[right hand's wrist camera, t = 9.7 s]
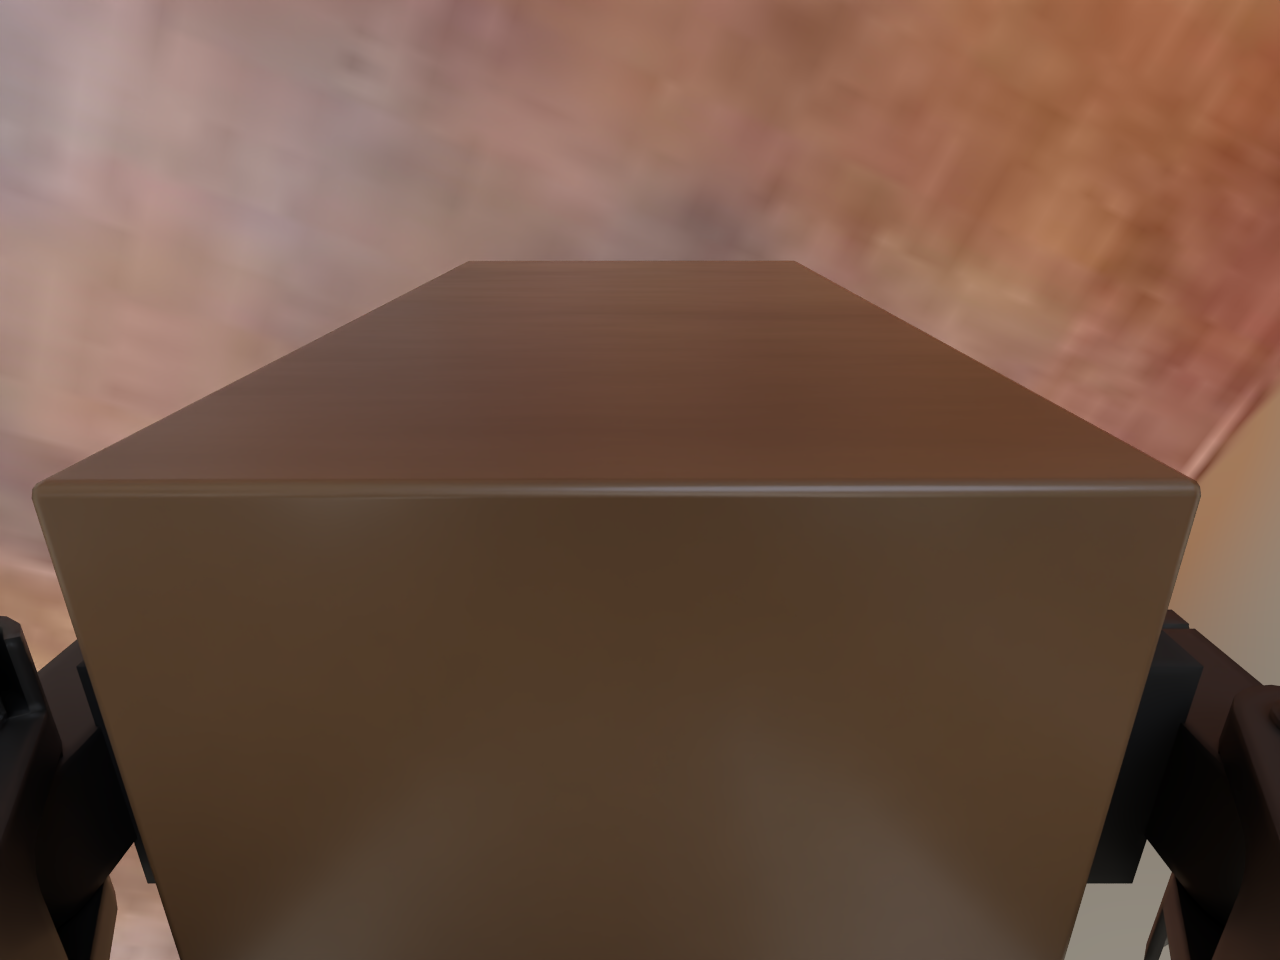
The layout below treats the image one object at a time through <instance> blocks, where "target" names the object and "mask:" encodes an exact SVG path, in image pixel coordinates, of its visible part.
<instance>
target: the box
mask: <svg viewBox="0 0 1280 960" xmlns="http://www.w3.org/2000/svg"><path fill="white" fill-rule="evenodd" d="M1200 497H1201V492H1200V486H1199V485H1198V483H1197V482H1196V481H1195V480H1193V479H1191V478H1189V477H1187V476H1186V475H1184V474H1182V473H1180V472H1178V471H1177V470H1175V469H1173V468H1171V467H1169V466H1167V465H1166V464H1164V463H1162V462H1160V461H1158V460H1156V459H1155V458H1153V457H1151V456H1149V455H1147V454H1146V453H1144V452H1142V451H1140V450H1138V449H1136V448H1135V447H1133V446H1131V445H1129V444H1127V443H1125V442H1124V441H1122V440H1120V439H1118V438H1116V437H1115V436H1113V435H1111V434H1109V433H1107V432H1105V431H1104V430H1102V429H1100V428H1098V427H1096V426H1095V425H1093V424H1091V423H1089V422H1087V421H1085V420H1084V419H1082V418H1080V417H1078V416H1076V415H1074V414H1073V413H1071V412H1069V411H1067V410H1065V409H1064V408H1062V407H1060V406H1058V405H1056V404H1054V403H1053V402H1051V401H1049V400H1047V399H1045V398H1043V397H1042V396H1040V395H1038V394H1036V393H1034V392H1033V391H1031V390H1029V389H1027V388H1025V387H1023V386H1022V385H1020V384H1018V383H1016V382H1014V381H1013V380H1011V379H1009V378H1007V377H1005V376H1003V375H1002V374H1000V373H998V372H996V371H994V370H992V369H991V368H989V367H987V366H985V365H983V364H982V363H980V362H978V361H976V360H974V359H972V358H971V357H969V356H967V355H965V354H963V353H962V352H960V351H958V350H956V349H954V348H952V347H951V346H949V345H947V344H945V343H943V342H941V341H940V340H938V339H936V338H934V337H932V336H931V335H929V334H927V333H925V332H923V331H921V330H920V329H918V328H916V327H914V326H912V325H910V324H909V323H907V322H905V321H903V320H901V319H900V318H898V317H896V316H894V315H892V314H890V313H889V312H887V311H885V310H883V309H881V308H880V307H878V306H876V305H874V304H872V303H870V302H869V301H867V300H865V299H863V298H861V297H859V296H858V295H856V294H854V293H852V292H850V291H849V290H847V289H845V288H843V287H841V286H839V285H838V284H836V283H834V282H832V281H830V280H828V279H827V278H825V277H823V276H821V275H819V274H818V273H816V272H814V271H812V270H810V269H808V268H807V267H805V266H803V265H801V264H799V263H798V262H795V261H468V262H466V263H464V264H462V265H460V266H458V267H456V268H455V269H453V270H451V271H449V272H447V273H445V274H443V275H441V276H439V277H437V278H435V279H433V280H431V281H429V282H427V283H425V284H423V285H422V286H420V287H418V288H416V289H414V290H412V291H410V292H408V293H406V294H404V295H402V296H400V297H398V298H396V299H394V300H392V301H390V302H388V303H387V304H385V305H383V306H381V307H379V308H377V309H375V310H373V311H371V312H369V313H367V314H365V315H363V316H361V317H359V318H357V319H355V320H354V321H352V322H350V323H348V324H346V325H344V326H342V327H340V328H338V329H336V330H334V331H332V332H330V333H328V334H326V335H324V336H322V337H321V338H319V339H317V340H315V341H313V342H311V343H309V344H307V345H305V346H303V347H301V348H299V349H297V350H295V351H293V352H291V353H289V354H288V355H286V356H284V357H282V358H280V359H278V360H276V361H274V362H272V363H270V364H268V365H266V366H264V367H262V368H260V369H258V370H256V371H255V372H253V373H251V374H249V375H247V376H245V377H243V378H241V379H239V380H237V381H235V382H233V383H231V384H229V385H227V386H225V387H223V388H221V389H220V390H218V391H216V392H214V393H212V394H210V395H208V396H206V397H204V398H202V399H200V400H198V401H196V402H194V403H192V404H190V405H188V406H187V407H185V408H183V409H181V410H179V411H177V412H175V413H173V414H171V415H169V416H167V417H165V418H163V419H161V420H159V421H157V422H155V423H154V424H152V425H150V426H148V427H146V428H144V429H142V430H140V431H138V432H136V433H134V434H132V435H130V436H128V437H126V438H124V439H122V440H121V441H119V442H117V443H115V444H113V445H111V446H109V447H107V448H105V449H103V450H101V451H99V452H97V453H95V454H93V455H91V456H89V457H88V458H86V459H84V460H82V461H80V462H78V463H76V464H74V465H72V466H70V467H68V468H66V469H64V470H62V471H60V472H58V473H56V474H55V475H53V476H51V477H49V478H47V479H45V480H43V481H41V482H39V483H37V484H36V485H35V487H34V488H33V490H32V501H33V504H34V507H35V510H36V513H37V516H38V519H39V522H40V525H41V528H42V532H43V535H44V538H45V541H46V544H47V547H48V550H49V553H50V556H51V559H52V563H53V566H54V569H55V572H56V575H57V578H58V581H59V584H60V587H61V591H62V594H63V597H64V600H65V603H66V606H67V609H68V612H69V615H70V618H71V622H72V625H73V628H74V631H75V634H76V637H77V640H78V643H79V646H80V650H81V653H82V656H83V659H84V662H85V665H86V668H87V671H88V674H89V677H90V681H91V684H92V687H93V690H94V693H95V696H96V699H97V702H98V705H99V708H100V712H101V715H102V718H103V721H104V724H105V727H106V730H107V733H108V736H109V740H110V743H111V746H112V749H113V752H114V755H115V758H116V761H117V764H118V767H119V771H120V774H121V777H122V780H123V783H124V786H125V789H126V792H127V795H128V799H129V802H130V805H131V808H132V811H133V814H134V817H135V820H136V823H137V826H138V830H139V833H140V836H141V839H142V842H143V845H144V848H145V851H146V854H147V857H148V861H149V864H150V867H151V870H152V873H153V876H154V879H155V882H156V885H157V889H158V892H159V895H160V898H161V901H162V904H163V907H164V910H165V913H166V916H167V920H168V923H169V926H170V929H171V932H172V935H173V938H174V941H175V944H176V948H177V951H178V954H179V957H180V960H1064V958H1065V955H1066V951H1067V948H1068V944H1069V941H1070V938H1071V934H1072V931H1073V928H1074V924H1075V921H1076V917H1077V914H1078V910H1079V907H1080V904H1081V900H1082V897H1083V894H1084V890H1085V887H1086V884H1087V880H1088V877H1089V873H1090V870H1091V867H1092V863H1093V860H1094V856H1095V853H1096V850H1097V846H1098V843H1099V839H1100V836H1101V833H1102V829H1103V826H1104V823H1105V819H1106V816H1107V812H1108V809H1109V806H1110V802H1111V799H1112V795H1113V792H1114V789H1115V785H1116V782H1117V779H1118V775H1119V772H1120V768H1121V765H1122V762H1123V758H1124V755H1125V751H1126V748H1127V745H1128V741H1129V738H1130V734H1131V731H1132V728H1133V724H1134V721H1135V718H1136V714H1137V711H1138V707H1139V704H1140V701H1141V697H1142V694H1143V690H1144V687H1145V684H1146V680H1147V677H1148V674H1149V670H1150V667H1151V663H1152V660H1153V657H1154V653H1155V650H1156V646H1157V643H1158V640H1159V636H1160V633H1161V630H1162V626H1163V623H1164V619H1165V616H1166V613H1167V609H1168V606H1169V602H1170V599H1171V596H1172V592H1173V589H1174V585H1175V582H1176V579H1177V575H1178V572H1179V569H1180V565H1181V562H1182V558H1183V555H1184V552H1185V548H1186V545H1187V541H1188V538H1189V535H1190V531H1191V528H1192V525H1193V521H1194V518H1195V514H1196V511H1197V508H1198V504H1199V501H1200Z"/></svg>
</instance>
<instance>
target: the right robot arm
mask: <svg viewBox="0 0 1280 960" xmlns="http://www.w3.org/2000/svg"><path fill="white" fill-rule="evenodd" d="M1146 840H1148V841H1149V842H1150V843H1151V845H1152V846H1153V847H1154V849H1155V850H1156V851H1157V853H1158V854H1159V855H1160V857H1161V858H1162V859H1163V861H1164V862H1165V863H1166V865H1167V866H1168V867H1169V868H1170V870H1171V871H1172V874H1171V876H1170V879H1169V882H1168V885H1167V888H1166V890H1165V893H1164V896H1163V899H1162V902H1161V905H1160V907H1159V910H1158V913H1157V916H1156V919H1155V921H1154V924H1153V927H1152V930H1151V933H1150V936H1149V938H1148V941H1147V945H1146V951H1145V957H1144V960H1159V957H1160V955H1161V952H1162V949H1163V947H1164V946H1166V945H1168V944H1169V950H1170V956H1171V960H1280V686H1275V685H1265V686H1264V685H1262V684H1261V683H1260V682H1259V681H1257V680H1256V679H1255V678H1254V677H1253V676H1251V675H1250V674H1249V673H1248V672H1247V671H1245V670H1244V669H1243V668H1242V667H1240V666H1239V665H1238V664H1237V663H1236V662H1234V661H1233V660H1232V659H1231V658H1230V657H1228V656H1227V655H1226V654H1225V653H1224V652H1222V651H1221V650H1220V649H1219V648H1217V647H1216V646H1215V645H1214V644H1213V643H1211V642H1210V641H1209V640H1208V639H1207V638H1205V637H1204V636H1203V635H1202V634H1200V633H1199V632H1198V631H1197V630H1196V629H1189V624H1188V623H1187V622H1186V621H1185V620H1183V619H1182V618H1181V617H1180V616H1179V615H1177V614H1176V613H1175V612H1174V611H1173V610H1167V613H1166V616H1165V619H1164V623H1163V626H1162V630H1161V633H1160V636H1159V640H1158V643H1157V646H1156V650H1155V653H1154V657H1153V660H1152V663H1151V667H1150V670H1149V674H1148V677H1147V680H1146V684H1145V687H1144V690H1143V694H1142V697H1141V701H1140V704H1139V707H1138V711H1137V714H1136V718H1135V721H1134V724H1133V728H1132V731H1131V734H1130V738H1129V741H1128V745H1127V748H1126V751H1125V755H1124V758H1123V762H1122V765H1121V768H1120V772H1119V775H1118V779H1117V782H1116V785H1115V789H1114V792H1113V795H1112V799H1111V802H1110V806H1109V809H1108V812H1107V816H1106V819H1105V823H1104V826H1103V829H1102V833H1101V836H1100V839H1099V843H1098V846H1097V850H1096V853H1095V856H1094V860H1093V863H1092V867H1091V870H1090V873H1089V877H1088V880H1087V883H1132V882H1133V880H1134V876H1135V873H1136V870H1137V867H1138V864H1139V861H1140V858H1141V855H1142V852H1143V849H1144V846H1145V843H1146ZM133 842H134V843H135V846H136V849H137V852H138V855H139V858H140V861H141V864H142V867H143V870H144V874H145V877H146V880H147V883H156V882H155V879H154V876H153V873H152V870H151V867H150V864H149V861H148V857H147V854H146V851H145V848H144V845H143V842H142V839H141V836H140V833H139V830H138V826H137V823H136V820H135V817H134V814H133V811H132V808H131V805H130V802H129V799H128V795H127V792H126V789H125V786H124V783H123V780H122V777H121V774H120V771H119V767H118V764H117V761H116V758H115V755H114V752H113V749H112V746H111V743H110V740H109V736H108V733H107V730H106V727H105V724H104V721H103V718H102V715H101V712H100V708H99V705H98V702H97V699H96V696H95V693H94V690H93V687H92V684H91V681H90V677H89V674H88V671H87V668H86V665H85V662H84V659H83V656H82V653H81V650H80V646H79V643H78V640H76V641H75V642H73V643H72V644H71V645H70V646H69V647H67V648H66V649H65V650H64V651H62V652H61V653H60V654H59V655H58V656H56V657H55V658H54V659H53V660H52V661H50V662H49V663H48V664H47V665H46V666H44V667H43V668H42V669H41V670H40V671H38V672H37V670H36V668H35V665H34V662H33V659H32V656H31V654H30V651H29V648H28V645H27V642H26V639H25V637H24V634H23V631H22V628H21V625H20V624H19V623H17V622H16V621H14V620H12V619H10V618H9V617H7V616H0V960H109V959H110V952H111V946H112V940H113V934H114V927H115V921H116V915H117V902H116V895H115V890H114V888H113V885H112V882H111V879H110V876H109V874H110V873H111V872H112V870H113V869H114V868H115V866H116V865H117V864H118V862H119V861H120V860H121V858H122V857H123V856H124V854H125V853H126V852H127V850H128V849H129V848H130V846H131V845H132V844H133Z"/></svg>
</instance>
